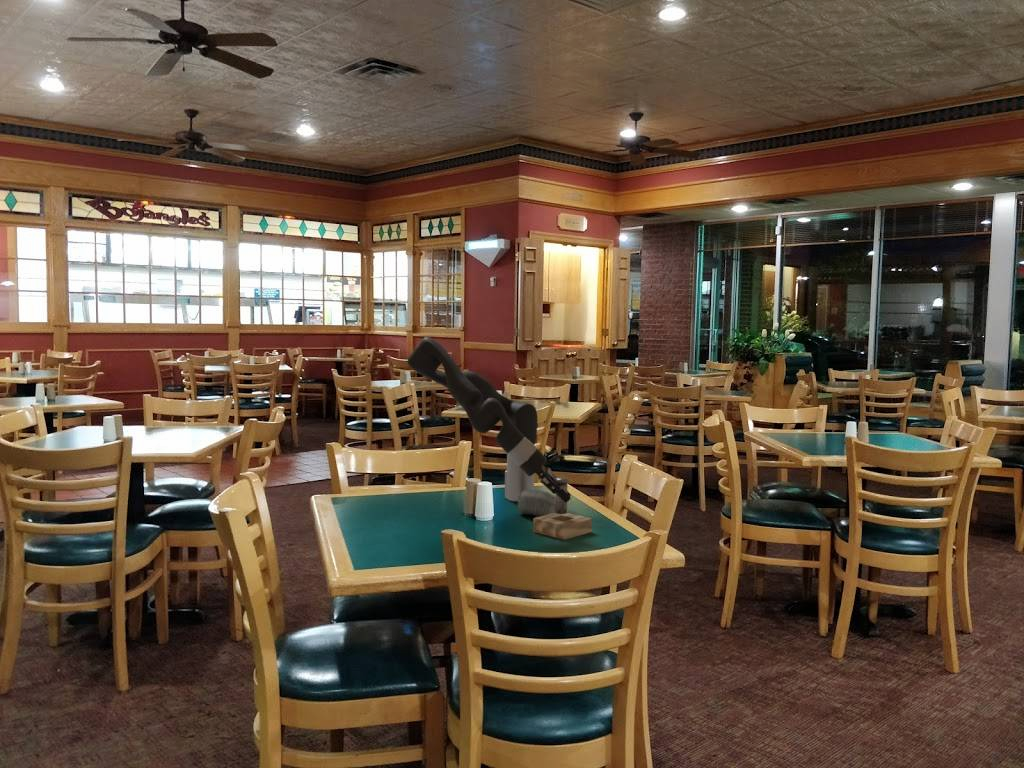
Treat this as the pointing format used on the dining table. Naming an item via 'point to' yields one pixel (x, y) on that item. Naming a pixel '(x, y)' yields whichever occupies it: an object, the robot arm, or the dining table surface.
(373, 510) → the dining table surface
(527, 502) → the grey rounded rock
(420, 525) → the dining table surface
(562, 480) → the pin
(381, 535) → the dining table surface
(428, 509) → the dining table surface
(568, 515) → the block
